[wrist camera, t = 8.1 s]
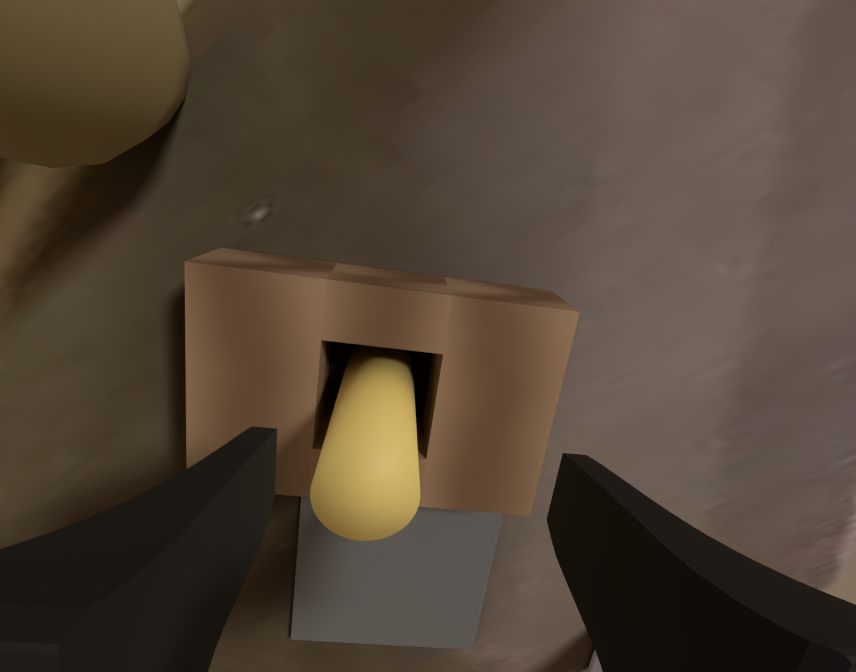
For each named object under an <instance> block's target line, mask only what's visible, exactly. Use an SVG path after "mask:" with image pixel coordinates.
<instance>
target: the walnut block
mask: <svg viewBox="0 0 856 672" xmlns="http://www.w3.org/2000/svg"><path fill="white" fill-rule="evenodd" d="M579 314H580V312H579V311H578V310H577V309H575V308H574V307H573V306H571V305H570V304H568V303H567V302H566V301H564V300H563V299H562V298H560V297H559V296H557V295H556V294H555V293H553V292H552V291H547V290H540V289H532V288H524V287H517V286H509V285H502V284H494V283H486V282H479V281H471V280H464V279H456V278H448V277H441V276H433V275H426V274H418V273H410V272H403V271H395V270H388V269H380V268H372V267H365V266H357V265H349V264H342V263H334V262H327V261H319V260H311V259H304V258H296V257H289V256H281V255H273V254H266V253H258V252H251V251H243V250H235V249H228V248H219V249H216V250H213V251H211V252H208V253H205V254H203V255H200V256H197V257H195V258H192V259H189V260H187V261H185V351H186V460H187V468H189V467H191V466H192V465H194V464H196V463H197V462H199V461H200V460H202V459H203V458H205V457H206V456H208V455H210V454H211V453H213V452H214V451H216V450H217V449H219V448H220V447H222V446H223V445H225V444H226V443H227V442H229V441H230V440H232V439H233V438H235V437H236V436H238V435H239V434H241V433H242V432H244V431H245V430H247V429H248V428H250V427H252V426H255V427H266V428H277V451H276V476H275V495H287V496H299V497H310V489H311V484H312V481H313V477H314V474H315V470H316V467H317V464H318V460H319V457H320V453H321V450H322V447H323V443H324V440H325V436H326V433H327V430H328V426H329V423H330V419H331V416H332V413H333V409H328V408H326V397H327V385H328V374H329V362H330V351H331V341H333V342H342V343H350V344H359V345H368V346H376V347H385V348H394V349H402V350H411V351H420V352H428V353H432V359H431V365H430V372H429V378H428V385H427V391H426V398H425V404H424V411H423V417H422V418H416V428H417V445H418V462H419V479H420V502H419V506H418V507H430V508H442V509H454V510H466V511H478V512H490V513H502V514H513V515H525V516H530V513H531V509H532V505H533V501H534V497H535V493H536V489H537V485H538V481H539V477H540V473H541V468H542V464H543V460H544V456H545V452H546V448H547V444H548V440H549V436H550V432H551V428H552V424H553V420H554V416H555V411H556V407H557V403H558V399H559V395H560V391H561V387H562V383H563V379H564V375H565V371H566V367H567V363H568V358H569V354H570V350H571V346H572V342H573V338H574V334H575V330H576V326H577V322H578V318H579Z"/></svg>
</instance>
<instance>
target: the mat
mask: <svg viewBox="0 0 856 672" xmlns="http://www.w3.org/2000/svg"><path fill="white" fill-rule="evenodd" d="M502 518H503V514H502V513H490V512H478V511H466V510H454V509H442V508H430V507H418V509H417V512H416V514H415V515H414V517H413V518H412V520H411V521H410V522H409V523H408V524H407V525H406V526H405V527H404V528H403V529H402V530H400V531H399V532H397V533H395V534H393V535H391V536H389V537H386V538H383V539H379V540H373V541H358V540H352V539H347V538H345V537H342V536H339V535H337V534H335V533H334V532H332V531H330V530H329V529H328V528H326V527H325V526H324V525H323V524H322V523H321V522H320V521H319V519H318V518H317V516H316V515H315V513H314V511H313V508H312V505H311V500H310V497H301V508H300V521H299V534H298V548H297V561H296V575H295V588H294V601H293V615H292V628H291V640H309V641H327V642H345V643H363V644H381V645H399V646H417V647H435V648H453V649H471V650H473V647H474V642H475V638H476V634H477V629H478V625H479V620H480V616H481V611H482V607H483V603H484V598H485V594H486V589H487V585H488V580H489V576H490V571H491V567H492V563H493V558H494V554H495V549H496V545H497V540H498V536H499V532H500V527H501V523H502Z"/></svg>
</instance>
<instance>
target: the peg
mask: <svg viewBox="0 0 856 672" xmlns="http://www.w3.org/2000/svg"><path fill="white" fill-rule="evenodd" d="M310 500H311V505H312V508H313V511H314V513H315V515H316V516H317V518H318V519H319V521H320V522H321V523H322V524H323V525H324V526H325V527H326V528H328V529H329V530H330V531H332V532H334V533H335V534H337V535H339V536H342V537H345V538H347V539H352V540H358V541H373V540H379V539H383V538H386V537H389V536H391V535H393V534H395V533H397V532H399V531H400V530H402V529H403V528H404V527H405V526H406V525H407V524H408V523H409V522H410V521H411V520H412V518H413V517H414V515H415V514H416V512H417V509H418V506H419V502H420V479H419V462H418V445H417V428H416V411H415V394H414V377H413V365H412V361H411V358H410V356H409V355H408V353H407V352H406V351H405V350H402V349H394V348H385V347H376V346H368V345H359V346H358V347H357V348H356V349H354V351H353V352H352V353H351V355H350V357H349V359H348V362H347V365H346V368H345V372H344V375H343V379H342V382H341V385H340V389H339V392H338V396H337V399H336V402H335V406H334V409H333V413H332V416H331V419H330V423H329V426H328V430H327V433H326V436H325V440H324V443H323V447H322V450H321V453H320V457H319V460H318V464H317V467H316V470H315V474H314V477H313V481H312V484H311V489H310Z"/></svg>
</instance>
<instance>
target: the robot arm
mask: <svg viewBox="0 0 856 672" xmlns="http://www.w3.org/2000/svg"><path fill="white" fill-rule="evenodd" d="M276 451H277V428H266V427H255V426H252V427H250V428H248V429H247V430H245V431H244V432H242V433H241V434H239V435H238V436H236V437H235V438H233V439H232V440H230V441H229V442H227V443H226V444H225V445H223V446H222V447H220V448H219V449H217V450H216V451H214V452H213V453H211V454H210V455H208V456H206V457H205V458H203V459H202V460H200V461H199V462H197V463H196V464H194V465H192V466H191V467H189V468H187V469H186V470H184V471H182V472H181V473H179V474H177V475H175V476H174V477H172V478H170V479H169V480H167V481H165V482H164V483H162V484H160V485H158V486H156V487H155V488H153V489H151V490H149V491H147V492H145V493H143V494H141V495H139V496H137V497H135V498H133V499H131V500H129V501H127V502H124V503H122V504H120V505H118V506H116V507H114V508H111V509H109V510H107V511H105V512H102V513H100V514H97V515H94V516H92V517H89V518H87V519H84V520H82V521H79V522H77V523H74V524H72V525H69V526H67V527H64V528H62V529H59V530H57V531H54V532H51V533H48V534H45V535H42V536H39V537H36V538H33V539H31V540H28V541H25V542H21V543H18V544H15V545H12V546H9V547H5V548H2V549H0V672H208V669H209V666H210V663H211V660H212V657H213V654H214V651H215V648H216V646H217V643H218V640H219V638H220V635H221V633H222V630H223V628H224V625H225V623H226V621H227V619H228V616H229V614H230V612H231V610H232V607H233V605H234V603H235V601H236V598H237V596H238V594H239V592H240V589H241V587H242V585H243V583H244V580H245V578H246V576H247V574H248V571H249V569H250V567H251V565H252V562H253V560H254V558H255V555H256V553H257V551H258V549H259V546H260V544H261V542H262V539H263V537H264V534H265V530H266V527H267V524H268V521H269V517H270V514H271V510H272V507H273V503H274V500H275V476H276ZM547 523H548V527H549V531H550V535H551V539H552V543H553V546H554V550H555V554H556V557H557V559H558V562H559V565H560V567H561V569H562V572H563V574H564V577H565V579H566V582H567V584H568V586H569V589H570V591H571V594H572V596H573V598H574V601H575V603H576V605H577V608H578V610H579V612H580V615H581V617H582V620H583V622H584V624H585V627H586V629H587V631H588V634H589V636H590V639H591V641H592V643H593V646H594V652H593V655H592V658H591V661H590V664H589V668H588V671H587V672H856V605H855V604H852V603H850V602H847V601H845V600H842V599H839V598H837V597H835V596H832V595H830V594H827V593H825V592H822V591H820V590H817V589H815V588H813V587H810V586H808V585H806V584H803V583H801V582H799V581H796V580H794V579H792V578H790V577H788V576H786V575H783V574H781V573H779V572H777V571H775V570H773V569H771V568H769V567H766V566H764V565H762V564H760V563H758V562H756V561H754V560H752V559H750V558H748V557H746V556H744V555H742V554H740V553H738V552H736V551H735V550H733V549H731V548H729V547H727V546H726V545H724V544H722V543H720V542H718V541H717V540H715V539H713V538H711V537H709V536H708V535H706V534H704V533H703V532H701V531H699V530H697V529H696V528H694V527H693V526H691V525H689V524H688V523H686V522H685V521H683V520H682V519H680V518H678V517H677V516H675V515H674V514H672V513H671V512H669V511H667V510H666V509H664V508H663V507H662V506H660V505H659V504H657V503H656V502H654V501H653V500H651V499H650V498H648V497H647V496H645V495H644V494H643V493H641V492H640V491H638V490H637V489H635V488H634V487H633V486H631V485H630V484H628V483H627V482H626V481H624V480H623V479H621V478H620V477H619V476H617V475H616V474H614V473H613V472H611V471H610V470H609V469H607V468H606V467H604V466H603V465H601V464H600V463H598V462H597V461H595V460H593V459H592V458H590V457H588V456H586V455H578V454H567V453H563V455H562V459H561V463H560V467H559V471H558V475H557V479H556V483H555V488H554V492H553V496H552V500H551V504H550V508H549V512H548V516H547Z"/></svg>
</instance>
